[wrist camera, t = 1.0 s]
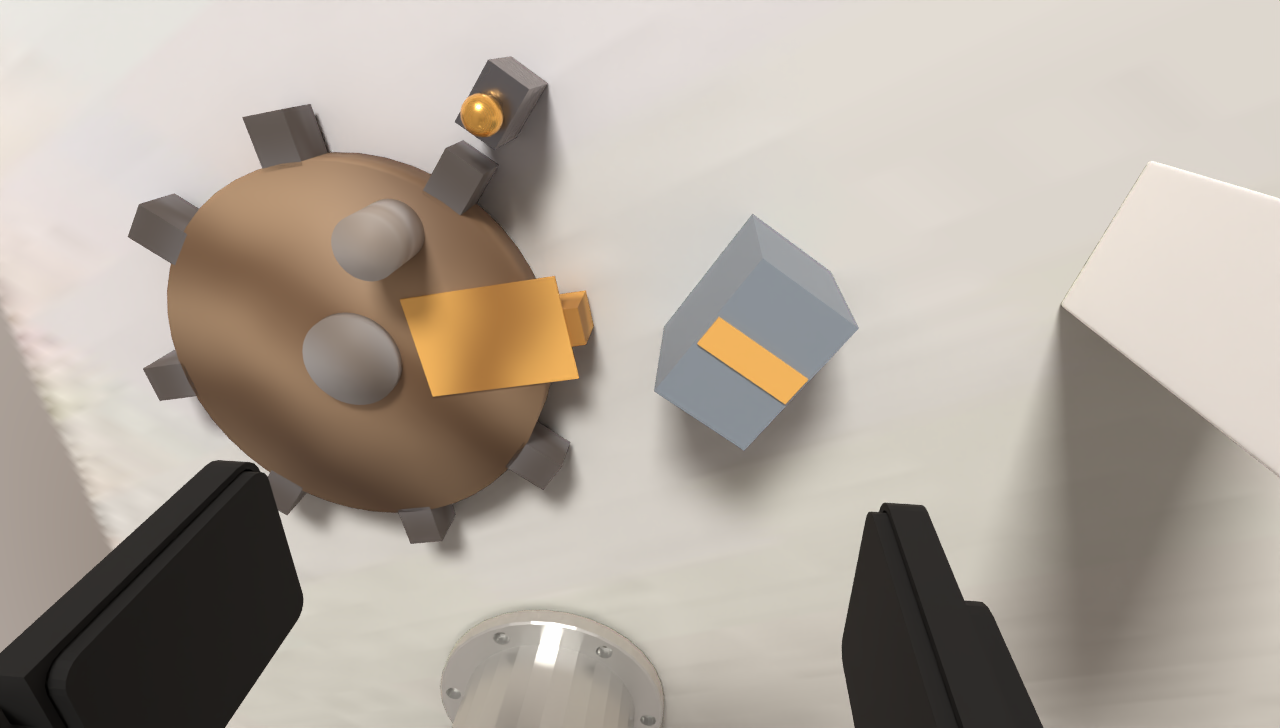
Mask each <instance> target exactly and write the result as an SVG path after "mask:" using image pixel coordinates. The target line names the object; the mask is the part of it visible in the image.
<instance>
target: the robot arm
mask: <svg viewBox="0 0 1280 728" xmlns="http://www.w3.org/2000/svg"><path fill="white" fill-rule="evenodd" d="M302 607H303V593H302V590H301V587H300V583H299V580H298V577H297V573H296V570H295V566H294V563H293V560H292V556H291V553H290V549H289V546H288V543H287V539H286V536H285V532H284V529H283V526H282V522H281V519H280V516H279V512H278V509H277V505H276V502H275V499H274V495H273V492H272V488H271V485H270V482H269V479H268V477H267V475H266V474H265V473H262V472H260V470H259V468H258V467H257V466H256V465H255V464H254V463H250V462H238V461H222V460H217V461H212V462H210V463H209V464H207V465H206V466H205V467H204V468H203V469H202V470H201V471H199V472H198V473H197V474H196V475H195V476H194V477H193V478H192V479H191V480H190V481H188V482H187V483H186V484H185V485H184V486H183V487H182V488H181V489H180V490H179V491H177V492H176V493H175V494H174V495H173V496H172V497H171V498H170V499H169V500H168V501H167V502H165V503H164V504H163V505H162V506H161V507H160V508H159V509H158V510H157V511H156V512H154V513H153V514H152V515H151V516H150V517H149V518H148V519H147V520H146V521H145V522H143V523H142V524H141V525H140V526H139V527H138V528H137V529H136V530H135V531H134V532H133V533H131V534H130V535H129V536H128V537H127V538H126V539H125V540H124V541H123V542H122V543H120V544H119V545H118V546H117V547H116V548H115V549H114V550H113V551H112V552H111V553H109V554H108V555H107V556H106V557H105V558H104V559H103V560H102V561H101V562H100V563H99V564H97V565H96V566H95V567H94V568H93V569H92V570H91V571H90V572H89V573H88V574H86V575H85V576H84V577H83V578H82V579H81V580H80V581H79V582H78V583H77V584H76V585H74V587H72V588H71V589H70V590H69V591H68V592H67V593H66V594H65V595H63V596H62V597H61V598H60V599H59V600H58V601H57V602H56V603H55V604H54V605H53V606H51V607H50V608H49V609H48V610H47V611H46V612H45V613H44V614H43V615H42V616H41V617H39V618H38V619H37V620H36V621H35V622H34V623H33V624H32V625H31V626H29V627H28V628H27V629H26V630H25V631H24V632H23V633H22V634H21V635H20V636H18V637H17V638H16V639H15V640H14V641H13V642H12V643H11V644H10V645H9V646H7V647H6V648H5V649H4V650H3V651H2V652H1V653H0V728H225V727H226V725H227V724H228V722H229V721H230V719H231V718H232V716H233V715H234V713H235V712H236V710H237V709H238V707H239V706H240V704H241V703H242V701H243V700H244V699H245V697H246V696H247V694H248V693H249V691H250V690H251V688H252V687H253V685H254V684H255V682H256V681H257V679H258V678H259V676H260V675H261V673H262V672H263V670H264V669H265V667H266V666H267V664H268V663H269V662H270V660H271V659H272V657H273V656H274V654H275V653H276V651H277V650H278V648H279V647H280V645H281V644H282V642H283V641H284V639H285V638H286V636H287V635H288V633H289V632H290V630H291V629H292V628H293V626H294V625H295V623H296V622H297V620H298V618H299V616H300V614H301V611H302ZM842 661H843V668H844V673H845V678H846V683H847V689H848V694H849V699H850V705H851V710H852V715H853V720H854V726H855V728H1043V726H1042V724H1041V722H1040V719H1039V717H1038V715H1037V713H1036V710H1035V708H1034V706H1033V704H1032V702H1031V699H1030V697H1029V695H1028V693H1027V690H1026V688H1025V686H1024V684H1023V681H1022V679H1021V677H1020V675H1019V673H1018V670H1017V668H1016V666H1015V664H1014V661H1013V659H1012V657H1011V655H1010V653H1009V650H1008V648H1007V646H1006V644H1005V641H1004V639H1003V637H1002V635H1001V632H1000V630H999V628H998V626H997V624H996V621H995V619H994V617H993V615H992V613H991V612H990V610H989V608H988V607H987V606H986V605H985V604H984V603H983V602H977V601H964V599H963V596H962V594H961V592H960V589H959V587H958V584H957V582H956V579H955V577H954V575H953V572H952V570H951V567H950V565H949V563H948V560H947V558H946V555H945V553H944V550H943V548H942V546H941V543H940V541H939V538H938V536H937V533H936V531H935V529H934V526H933V524H932V521H931V519H930V516H929V514H928V512H927V510H926V508H925V507H924V506H922V505H911V504H896V503H883V504H882V506H881V507H880V511H879V512H868V514H867V517H866V521H865V526H864V531H863V536H862V541H861V547H860V552H859V557H858V562H857V567H856V572H855V577H854V582H853V587H852V592H851V598H850V603H849V608H848V613H847V618H846V623H845V628H844V633H843V639H842ZM440 689H441V696H442V702H443V705H444V707H445V710H446V713H447V715H448V717H449V719H450V720H451V722H452V723H453V725H452V728H661V724H662V719H663V704H664V695H663V690H662V685H661V681H660V679H659V677H658V675H657V673H656V671H655V669H654V667H653V665H652V664H651V663H650V661H649V660H648V659H647V657H646V656H645V655H644V654H643V652H642V651H641V650H639V649H638V648H637V647H636V646H635V645H634V644H633V643H632V642H630V641H629V640H628V639H627V638H625V637H624V636H622V635H620V634H619V633H617V632H616V631H614V630H613V629H611V628H609V627H607V626H605V625H602V624H600V623H598V622H596V621H593V620H591V619H588V618H585V617H581V616H577V615H574V614H570V613H565V612H557V611H550V610H523V611H517V612H511V613H505V614H502V615H499V616H496V617H493V618H490V619H487V620H485V621H483V622H481V623H480V624H478V625H476V626H475V627H473V628H471V629H470V630H469V631H468V632H466V633H465V634H464V635H463V636H462V637H461V638H460V639H459V640H458V641H457V643H456V644H455V646H454V648H453V649H452V651H451V652H450V654H449V657H448V659H447V662H446V665H445V667H444V669H443V672H442V678H441V685H440Z"/></svg>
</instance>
